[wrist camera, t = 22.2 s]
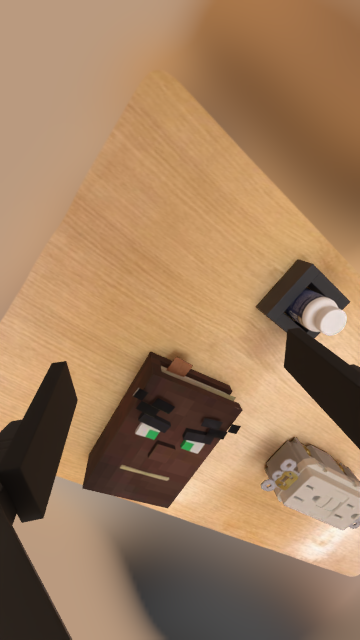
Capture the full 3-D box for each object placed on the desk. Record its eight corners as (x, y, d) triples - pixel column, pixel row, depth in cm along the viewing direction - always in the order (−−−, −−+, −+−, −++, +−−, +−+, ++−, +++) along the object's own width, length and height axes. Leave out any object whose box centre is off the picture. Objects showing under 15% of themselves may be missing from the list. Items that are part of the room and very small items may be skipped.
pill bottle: (274, 307, 46) (308, 331, 37) (292, 280, 44) (332, 297, 35) (297, 320, 47) (335, 345, 38) (316, 293, 46) (359, 314, 37)
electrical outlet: (327, 497, 68) (354, 541, 58) (240, 457, 60) (257, 501, 51) (360, 466, 65) (394, 508, 56) (274, 420, 57) (297, 459, 48)
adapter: (255, 306, 45) (266, 315, 41) (297, 259, 43) (313, 263, 39) (292, 337, 48) (305, 347, 45) (333, 294, 46) (350, 301, 43)
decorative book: (68, 500, 45) (153, 360, 37) (77, 462, 52) (150, 337, 44) (167, 521, 51) (258, 405, 43) (164, 484, 58) (241, 378, 50)
